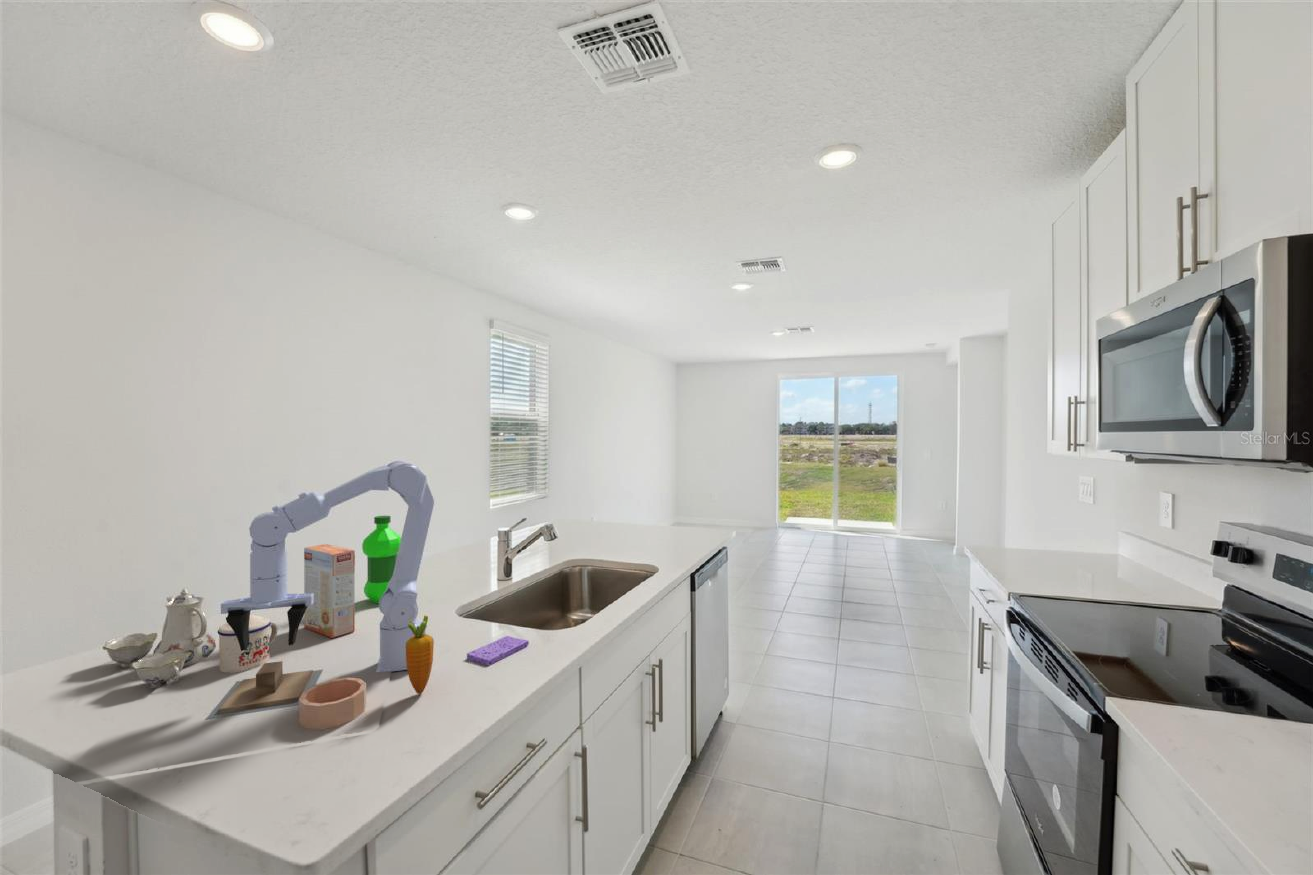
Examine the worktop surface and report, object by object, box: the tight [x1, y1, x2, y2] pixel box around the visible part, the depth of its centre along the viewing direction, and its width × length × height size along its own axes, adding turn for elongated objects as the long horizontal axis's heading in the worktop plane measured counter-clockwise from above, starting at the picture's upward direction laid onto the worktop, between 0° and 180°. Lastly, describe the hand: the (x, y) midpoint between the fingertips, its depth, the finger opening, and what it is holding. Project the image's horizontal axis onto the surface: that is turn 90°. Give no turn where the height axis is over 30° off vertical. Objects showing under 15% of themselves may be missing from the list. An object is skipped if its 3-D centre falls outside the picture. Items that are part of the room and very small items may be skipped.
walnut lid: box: [219, 660, 314, 714], centre depth 103 cm, size 12×12×5 cm
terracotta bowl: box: [298, 677, 367, 730], centre depth 96 cm, size 10×10×4 cm
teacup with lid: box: [217, 612, 279, 674], centre depth 117 cm, size 12×9×12 cm
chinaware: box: [102, 588, 217, 689], centre depth 115 cm, size 28×17×17 cm, turn 64°
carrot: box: [406, 615, 435, 695], centre depth 104 cm, size 5×5×15 cm
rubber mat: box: [205, 669, 324, 721], centre depth 104 cm, size 15×15×1 cm
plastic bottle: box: [361, 515, 402, 604], centre depth 160 cm, size 10×10×25 cm
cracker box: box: [303, 543, 356, 639], centre depth 136 cm, size 14×6×21 cm, turn 58°
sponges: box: [466, 635, 530, 666], centre depth 124 cm, size 7×13×2 cm, turn 151°
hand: (268, 645), depth 103 cm, fingers open, 7 cm apart
